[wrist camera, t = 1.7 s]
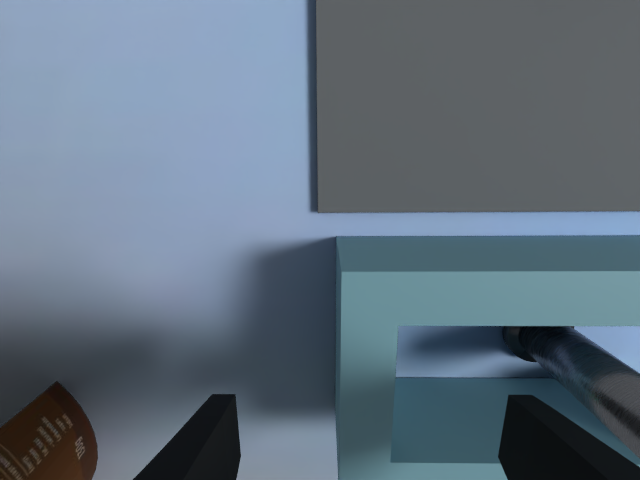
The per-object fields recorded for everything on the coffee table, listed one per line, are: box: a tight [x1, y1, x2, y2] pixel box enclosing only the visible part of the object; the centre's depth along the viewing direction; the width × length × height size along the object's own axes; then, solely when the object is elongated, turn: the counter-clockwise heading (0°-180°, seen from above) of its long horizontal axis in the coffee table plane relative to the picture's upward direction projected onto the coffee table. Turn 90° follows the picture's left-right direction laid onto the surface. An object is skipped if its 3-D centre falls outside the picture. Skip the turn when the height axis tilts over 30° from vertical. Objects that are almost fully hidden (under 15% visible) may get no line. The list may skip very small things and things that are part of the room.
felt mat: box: [316, 0, 640, 213], centre depth 11 cm, size 9×13×1 cm
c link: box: [335, 235, 640, 480], centre depth 11 cm, size 12×8×4 cm, turn 90°
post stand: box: [503, 326, 640, 459], centre depth 10 cm, size 3×3×5 cm
